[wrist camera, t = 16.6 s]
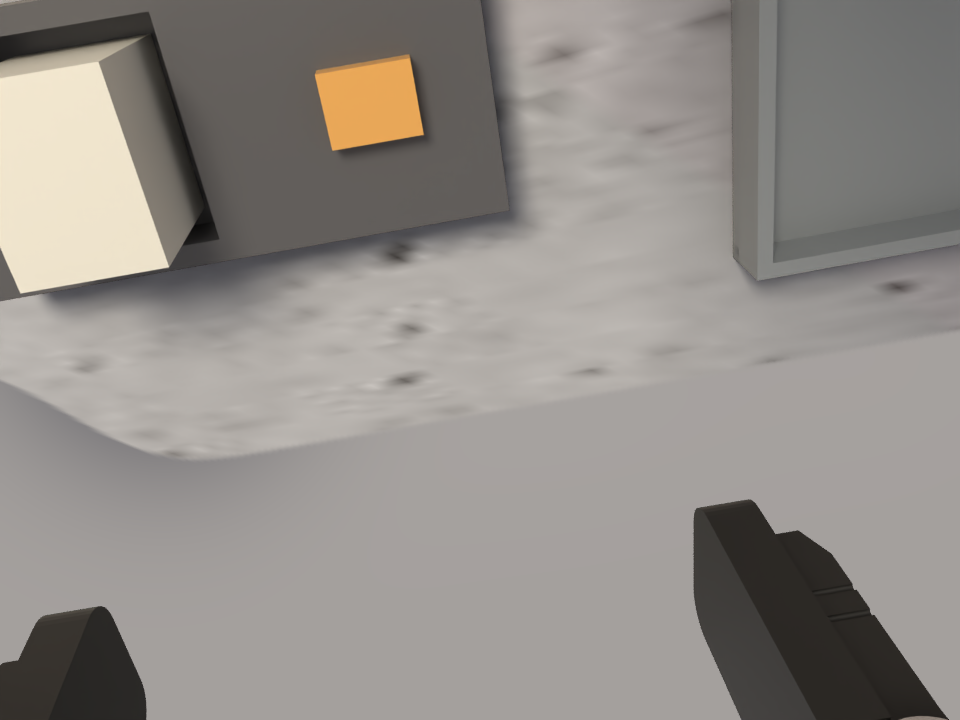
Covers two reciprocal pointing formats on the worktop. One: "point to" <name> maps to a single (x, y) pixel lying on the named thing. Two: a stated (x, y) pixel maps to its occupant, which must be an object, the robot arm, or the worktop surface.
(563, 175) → the worktop surface
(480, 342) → the worktop surface
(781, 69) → the tray
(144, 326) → the worktop surface
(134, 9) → the grey slotted base
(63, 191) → the block
